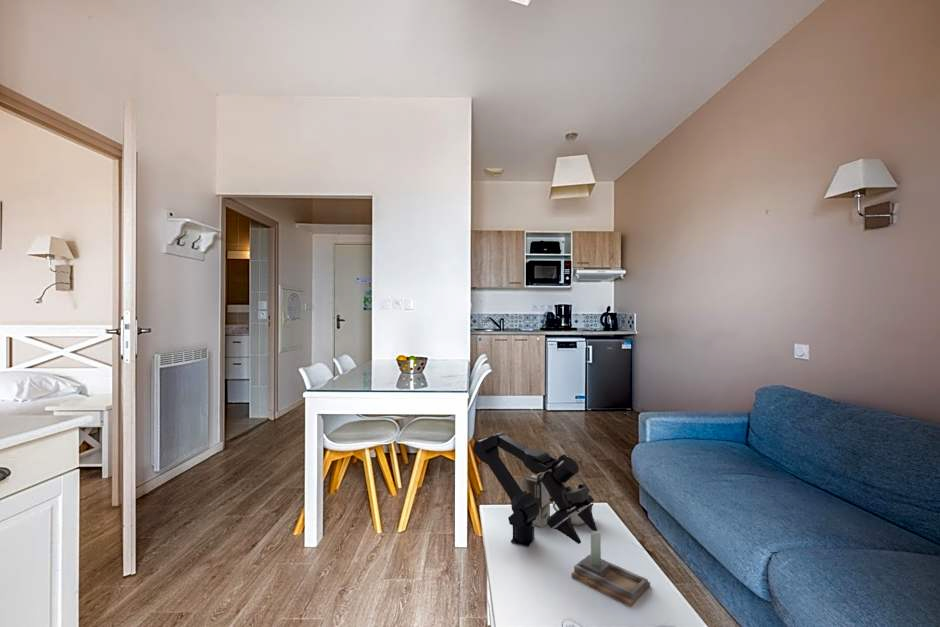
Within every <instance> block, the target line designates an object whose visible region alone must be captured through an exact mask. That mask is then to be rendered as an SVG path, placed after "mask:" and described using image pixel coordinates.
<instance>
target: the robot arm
mask: <svg viewBox="0 0 940 627" xmlns="http://www.w3.org/2000/svg"><path fill="white" fill-rule="evenodd" d="M472 448H473V453H474V455H475V456H476V457H477V458H478V460H480V461H481V462H482V463H484V464H486V465H487V466H488V467H489V468H490V470H491V472H492V473H493V475H494V476H495V478H496V479H497V481H498V482H499V484H500V486H501V487H502V489H503V490H504V492H505V493H506V494H507V496H508V497H509V499H510V504H511V505H510V506H511V511H512V512H513V513H512V514H511V515H509V516H508V522H509V524H510V525H511V526H512V538H511V540H510V543H512V544H516V545H521V546H526V547H530V545H532V543H533V542H534V540H535V538H536V537H535V527H534V524H533V522H532V521H535V520H536V517H537V516H538V515H539V506H538V504H537V503H538V501H536V500H535V498H534V497H533V495H532V493H531V492H529V493H527V494H526V493H525V492H523V491H522V490H521V486H520V485H519V484H518V482H517V481H516V480H515V478H514V476H513V475H512V474H511V472H510V471H509V469H508V468H507V466H506V465H505V463H504V462H503V460H502V459H501V456H500V450H499V448H501V449H502V450H503V451H505V452H507V453H508V454H510V455H511V456H513V457H514V458H517V459H518V460H519V461H521V462H522V463H523V465H524V467H525V468H526V469H528V470H529V471H530V472H531V474H534V475H538V474H539V475H538V476H537V485H539V484H541V483H543V485H544V486H545V488H546V490H547V491H548V493H549V494H550V497H551V498H550V502H551V503H553V502H555V504H556V505H555V506H556V508H557V509H558V511H557V512H556V511H555V512H554V513H553V514H550V517H549V518H548V519H547V524H546V525H547V526H548V528H550V530H551V529H553V530H554V531H558V532H560V533H561V534H563V535H565V536H566V537H567V538H569V539H571V540H572V541H573V542H575V543H576V544H577V545H580V544H581V543H582V541H581V540H582V539H581V538H580V536H579V535H578V533H577V531H576V530H575V529H576V528H574V526H573V524H571V517H569V518H567V517H568V515H570V514H572V513H573V512H575V511H577V512H580V513H578V514H577V515H578V516H579V517H580V518H581V519H582V520H583V521H584V522H585V523H584V524H585V525H586V526H587V527H588V528H589V530H591V531H598V527H597V526H596V522H595V519H594V516H593V512H592V511H593V506H594V502H595V499H594V497H592V495H591V494H590V492H591V489H590V488H589V486H588V485H586V483H584V482H583V483H579V484H578V485H577V488H576V489H572V487H571V486H569V485H568V486H566V483H568V481H570V480H571V479H572V478H573V477H575V475H577V474H578V473H579V471H580V468H579V465H578V463H577V462H576V460H574V459H572V457H569V456H567V455H566V453H564V454H561V455H560V456H558V459H557V458H555V457H553V456H550V454H548V452H545V451H543V450H539V449H535V448H530V447H527V445H526V446H525V445H524V444H522V443H521V442H518V441H517V440H515V439H513V438H512V437H510V436H508V435H507V434H506V433H505V432H497V433H494V434H492V435H491V436H489V437H485V438H483V439H479V440H476V441H475V442H474V444H473V447H472ZM540 473H541V474H540ZM542 473H543V474H542ZM590 504H591V505H590ZM567 510H568V511H567Z"/></svg>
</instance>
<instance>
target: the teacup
mask: <svg viewBox="0 0 940 627" xmlns="http://www.w3.org/2000/svg"><path fill="white" fill-rule="evenodd" d="M591 504H592V503H591ZM591 504H590V505H591ZM552 508H553V510H554V511H555V512H557V511H558V510H559V508H558V507H557V505H556V504H555V502H554V501H553V502H552ZM567 511H568V510H567ZM578 513H580V512H577V511H575V512H573V513H572V514H570V515H568V517H567V518H569V517H571V524H572V525H575V526H576V525H577V526H580V525H584V524H586V523H585V522H584V521H583V520H582V519H581V518H580V517H579V516H578V515H577V514H578Z"/></svg>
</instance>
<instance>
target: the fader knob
mask: <svg viewBox="0 0 940 627" xmlns="http://www.w3.org/2000/svg"><path fill="white" fill-rule="evenodd" d="M601 538H602V536H601V532H599V531H598V530H597V531H592V530H591V532H590V554H591V557H590V558H588V559H587V560H586V561H584V562H583V563H582V564H581V567H582V568H584V569H586V570H588V571H590V572H593V573H595V574H597V575H599V576H601V577H603V576H605V575H606V574H607V573H608V572H609V571H610V563H611V562H610V563H608V562H609V561H607V562H605V561H606V560H605V561H603V560H604V559H603V560H601V559H602V554H601V553H602V549H601V548H602V547H601V546H602V545H601V542H602V541H601V540H602V539H601Z"/></svg>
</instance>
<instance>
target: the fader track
mask: <svg viewBox="0 0 940 627" xmlns="http://www.w3.org/2000/svg"><path fill="white" fill-rule="evenodd" d="M590 557H591V553H590V554H589V553H588V555H587V556H585V557H584V558H582V560H580V561H579V562H577V563H576V564H575V565H574V566H573V572H572V573H571V579H574V580H576V581H577V582H580V583H582V584H583V585H586V586H588V587H590V588H591V589H594V590H595V591H598V592H600V593H601V594H604V595H606V596H608V597H610V598H612V599H614V600H615V601H618V602H619V603H621V604H622V605H623V604H624V605H626V606H628V607H629V608H632V606H633V605H634V604H636V603H637V601H638V600H639V599H640V598H641V597H642V596H643V595H644V594H645V593H646V592H647V590H648V589H649V588H651V582H650V581H649V579H647V578H645V577H644V576H641V575H639V574H636V573H634V572H632V571H629V570H627V569H626V568H622V567H621V566H619V565H616V564H614V563H611V562H609V561H607V560H605V559H602V558H601V560H603V561H605V562H608V563H610V571H609V572H608V573H607V574H606V575H605V576H603V577H601V576H599V575H597V574H595V573H593V572H590V571H588V570H586V569H584V568H582V567H581V564H582V563H583V562H584V561H586V560H587V559H588V558H590Z"/></svg>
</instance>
